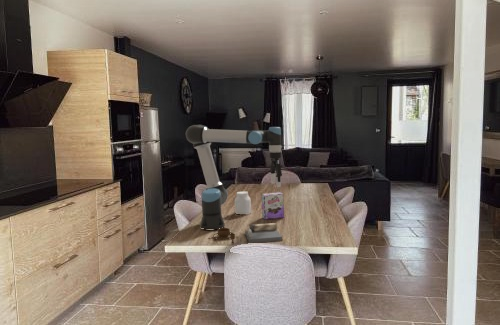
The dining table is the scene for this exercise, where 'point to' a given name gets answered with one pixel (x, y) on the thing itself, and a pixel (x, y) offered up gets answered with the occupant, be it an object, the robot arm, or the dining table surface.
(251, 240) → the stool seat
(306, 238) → the dining table surface
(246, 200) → the jar
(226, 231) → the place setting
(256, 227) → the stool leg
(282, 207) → the candy box
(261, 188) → the dining table surface
